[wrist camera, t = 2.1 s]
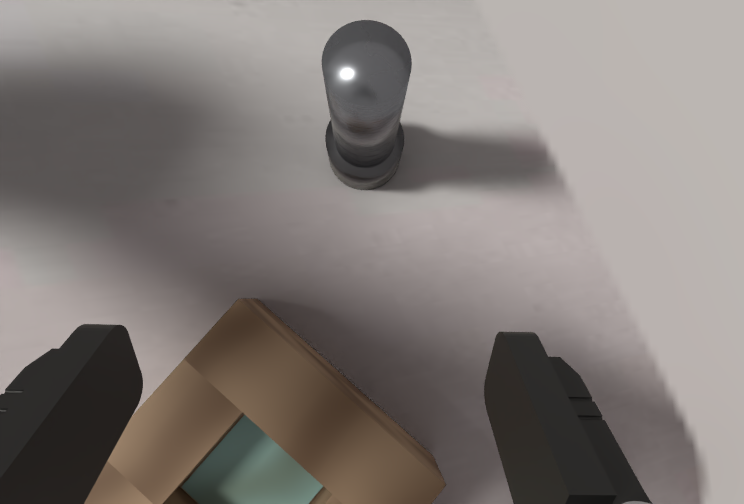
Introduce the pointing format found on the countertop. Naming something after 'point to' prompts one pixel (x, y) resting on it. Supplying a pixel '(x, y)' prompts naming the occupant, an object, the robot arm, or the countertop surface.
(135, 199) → the countertop surface
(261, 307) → the block
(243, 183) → the countertop surface
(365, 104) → the grey cylindrical peg
